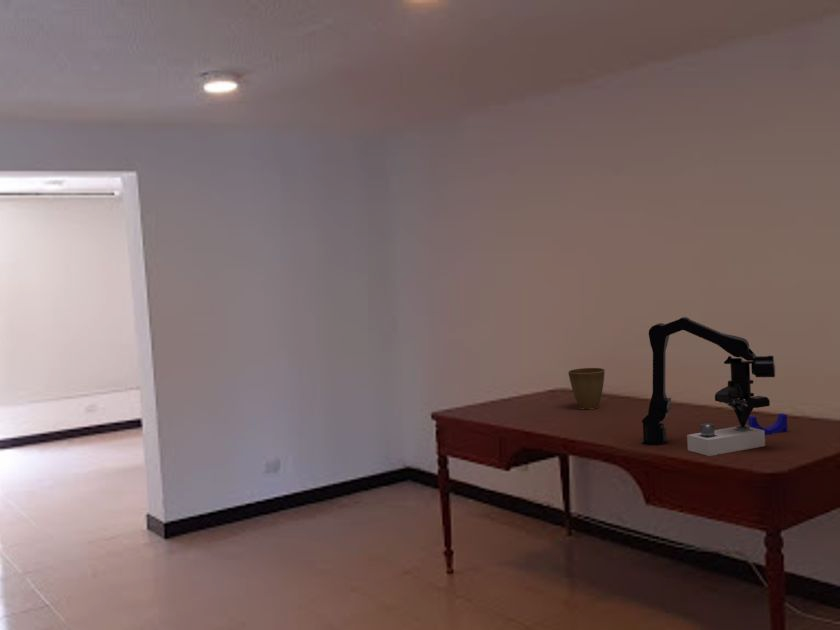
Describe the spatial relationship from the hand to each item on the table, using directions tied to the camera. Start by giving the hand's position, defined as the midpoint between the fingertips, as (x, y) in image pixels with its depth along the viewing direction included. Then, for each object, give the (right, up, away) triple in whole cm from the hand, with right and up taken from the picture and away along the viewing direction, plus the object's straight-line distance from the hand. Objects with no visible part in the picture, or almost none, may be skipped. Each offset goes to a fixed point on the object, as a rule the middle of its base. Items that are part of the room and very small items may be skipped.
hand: (742, 425), depth 275 cm
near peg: (-13, -4, -5) cm, 14 cm away
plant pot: (-33, -4, +83) cm, 89 cm away
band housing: (-6, -7, -2) cm, 9 cm away
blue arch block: (+15, -5, +15) cm, 22 cm away
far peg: (0, -5, 0) cm, 5 cm away
